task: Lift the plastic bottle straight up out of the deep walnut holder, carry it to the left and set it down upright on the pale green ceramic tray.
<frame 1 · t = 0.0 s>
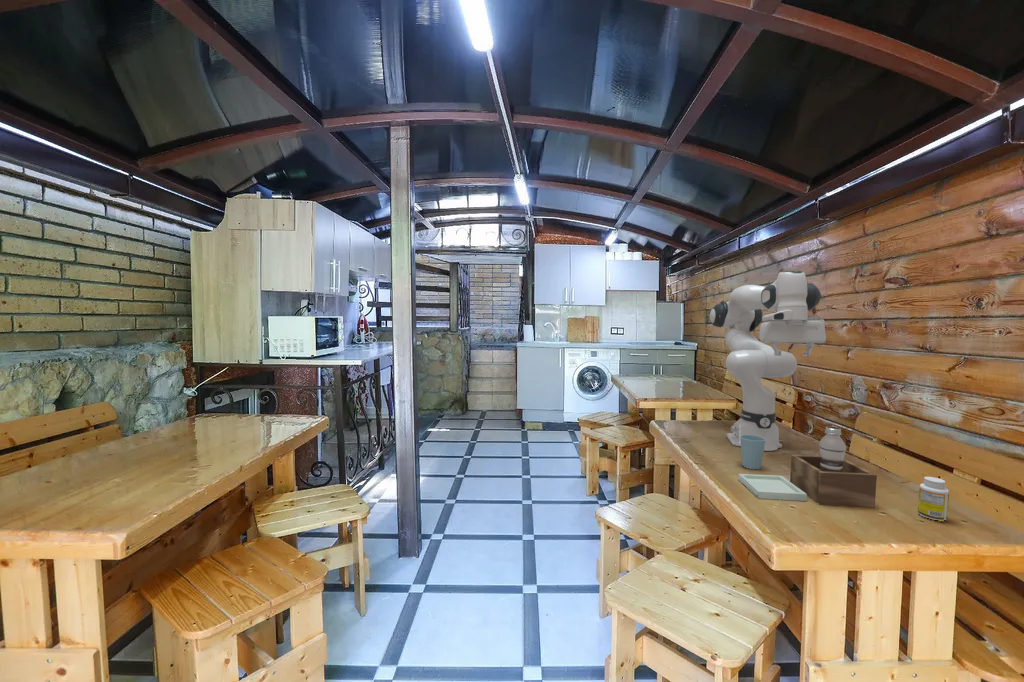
hand: (792, 356, 147), 39 cm above the table, tool pointing down, fingers open, 8 cm apart
tray: (770, 489, 128), on the table
holder: (829, 494, 125), on the table
plastic bottle: (829, 494, 125), resting in holder
cup: (751, 467, 148), on the table
supplement bottle: (932, 518, 111), on the table
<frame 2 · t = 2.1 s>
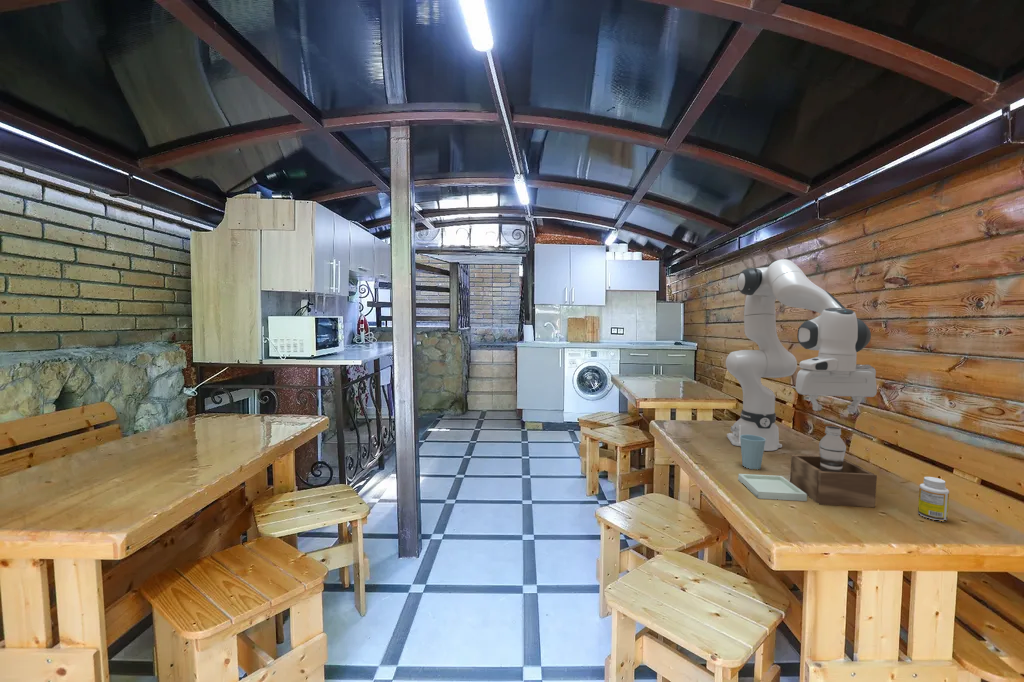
hand: (834, 411, 124), 25 cm above the table, tool pointing down, fingers open, 8 cm apart
nothing on the table moved.
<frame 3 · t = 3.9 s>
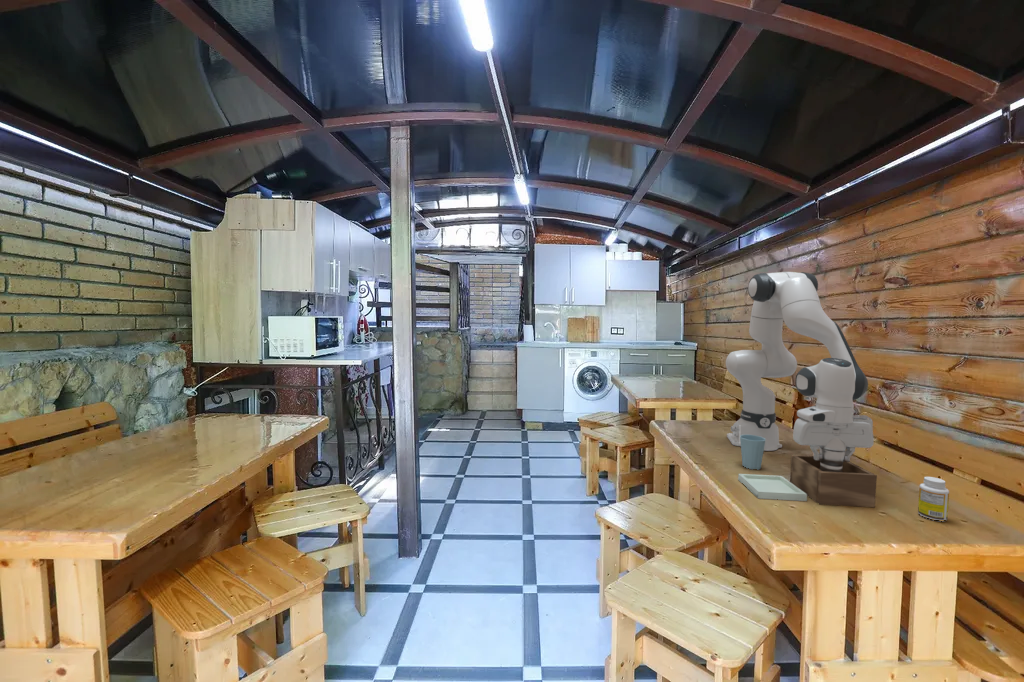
hand: (831, 460, 125), 10 cm above the table, tool pointing down, fingers closed on plastic bottle, 6 cm apart
plastic bottle: (829, 494, 125), resting in holder, touching gripper
everything else where it was.
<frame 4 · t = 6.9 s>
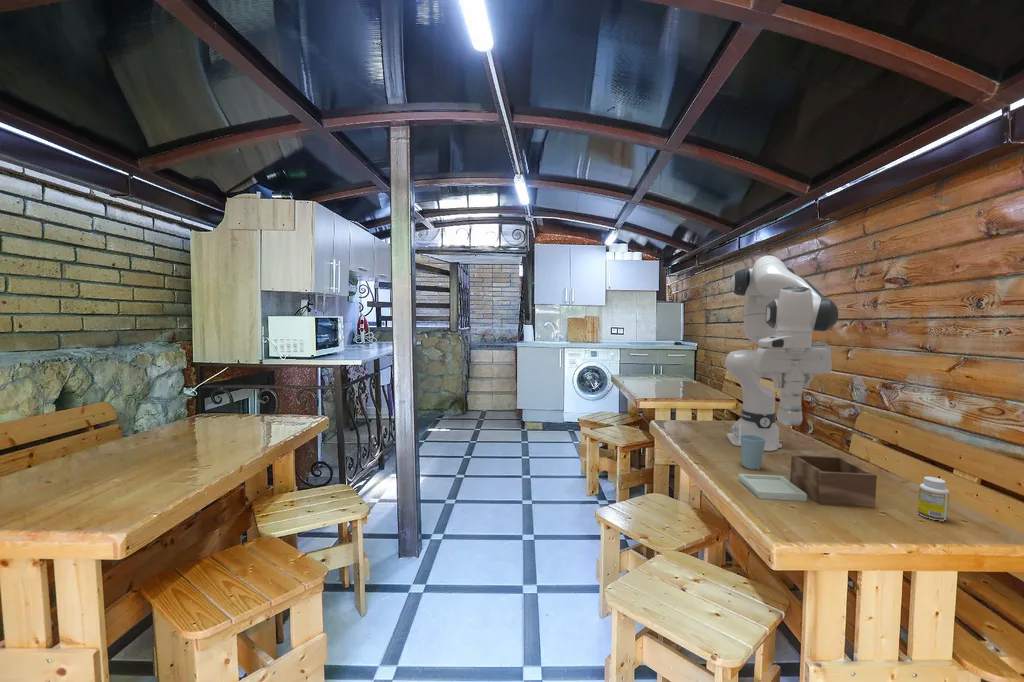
hand: (791, 388, 125), 31 cm above the table, tool pointing down, fingers closed on plastic bottle, 6 cm apart
plastic bottle: (788, 426, 126), point 20 cm above the table, touching gripper
everything else where it was.
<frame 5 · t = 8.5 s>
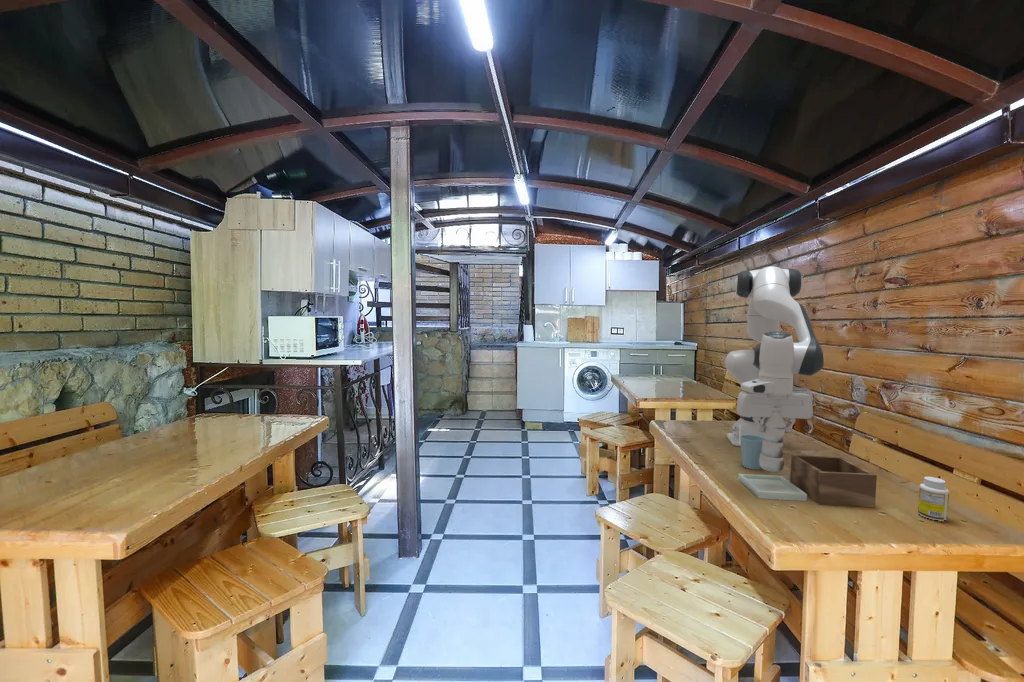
hand: (773, 432, 127), 18 cm above the table, tool pointing down, fingers closed on plastic bottle, 6 cm apart
plastic bottle: (770, 471, 128), point 6 cm above the table, touching gripper
everything else where it was.
when the fingers open (13 cm above the table, at t = 10.0 s): plastic bottle stays where it is, resting on tray.
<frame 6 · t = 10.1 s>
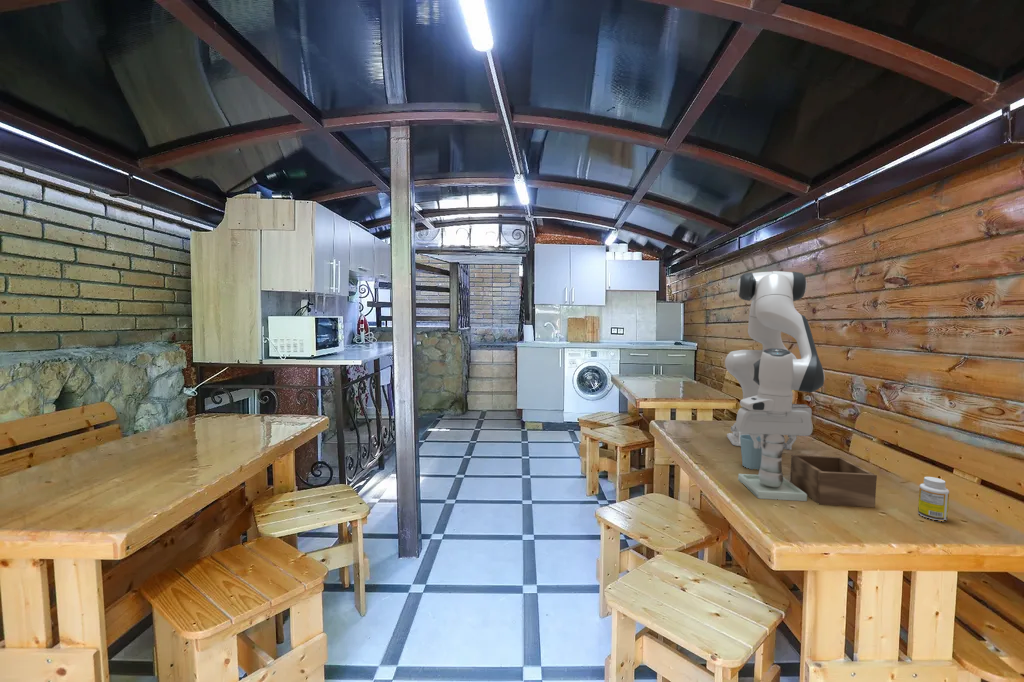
hand: (772, 448, 127), 13 cm above the table, tool pointing down, fingers open, 7 cm apart
plastic bottle: (770, 486, 128), point 1 cm above the table, touching tray
everything else where it was.
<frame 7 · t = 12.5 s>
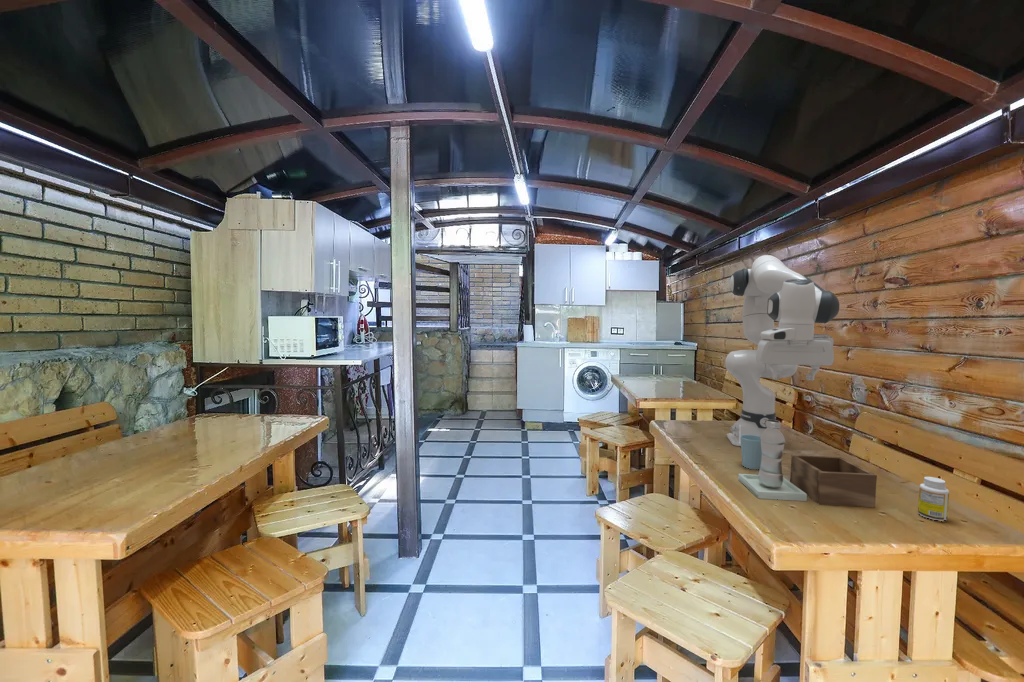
hand: (793, 379, 127), 33 cm above the table, tool pointing down, fingers open, 8 cm apart
nothing on the table moved.
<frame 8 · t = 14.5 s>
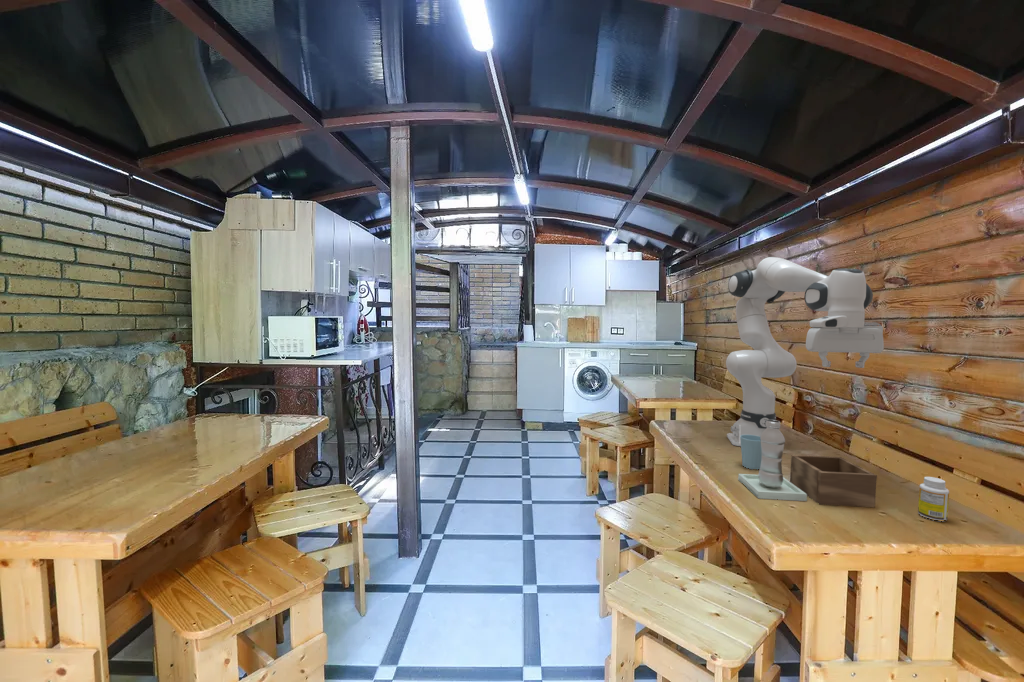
hand: (842, 367, 129), 37 cm above the table, tool pointing down, fingers open, 8 cm apart
nothing on the table moved.
at the end: plastic bottle 0.3 cm from the tray (horizontally); plastic bottle tilted 0°; the gripper is holding nothing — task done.
